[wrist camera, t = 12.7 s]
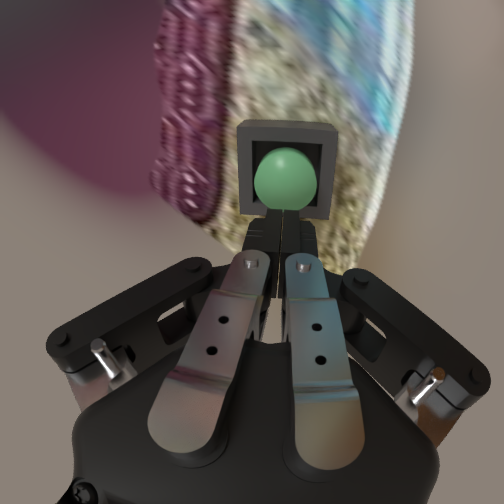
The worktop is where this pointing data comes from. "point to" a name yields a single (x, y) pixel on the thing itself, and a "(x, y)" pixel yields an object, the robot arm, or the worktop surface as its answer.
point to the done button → (285, 179)
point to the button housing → (293, 136)
